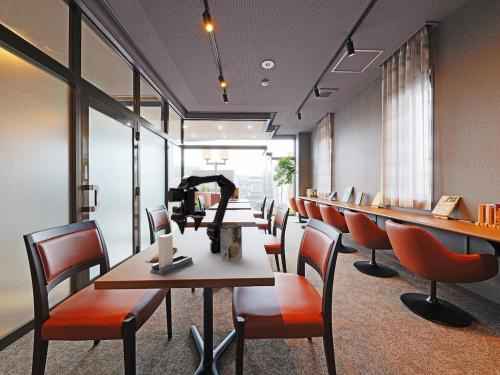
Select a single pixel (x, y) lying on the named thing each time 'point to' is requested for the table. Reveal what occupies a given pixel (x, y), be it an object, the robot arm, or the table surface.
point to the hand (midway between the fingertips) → (189, 232)
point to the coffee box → (231, 242)
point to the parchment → (156, 256)
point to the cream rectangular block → (165, 250)
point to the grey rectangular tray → (173, 265)
